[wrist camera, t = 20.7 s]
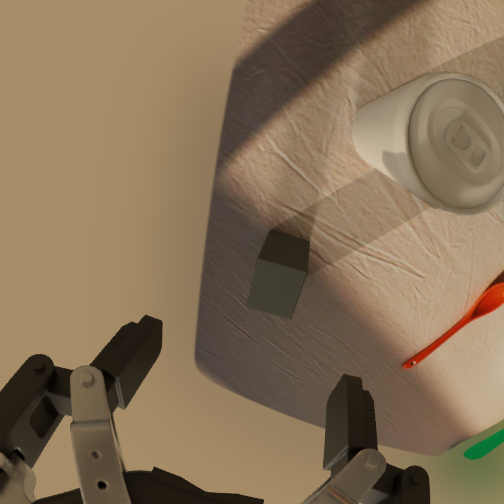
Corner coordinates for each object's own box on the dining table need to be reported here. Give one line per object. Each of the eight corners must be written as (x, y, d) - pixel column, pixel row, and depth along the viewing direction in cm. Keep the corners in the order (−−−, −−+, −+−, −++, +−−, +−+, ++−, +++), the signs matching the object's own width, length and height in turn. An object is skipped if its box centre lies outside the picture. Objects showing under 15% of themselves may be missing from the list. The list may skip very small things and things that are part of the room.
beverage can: (373, 86, 16) (445, 37, 5) (428, 130, 16) (539, 143, 6) (336, 140, 18) (367, 154, 8) (391, 183, 19) (472, 249, 8)
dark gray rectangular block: (259, 271, 23) (245, 307, 19) (270, 229, 22) (257, 257, 17) (296, 282, 23) (290, 320, 19) (309, 240, 21) (307, 271, 17)
